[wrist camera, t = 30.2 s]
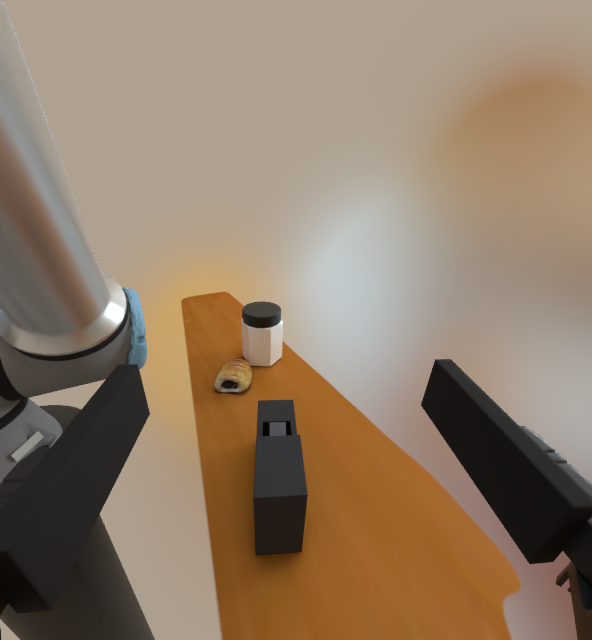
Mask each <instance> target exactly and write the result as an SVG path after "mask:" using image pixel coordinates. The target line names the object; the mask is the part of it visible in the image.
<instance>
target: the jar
mask: <svg viewBox="0 0 592 640" xmlns="http://www.w3.org/2000/svg"><path fill="white" fill-rule="evenodd" d="M241 328H242V350H243V356H244V358H245V359H246V360H248V361H249V363H250V366H269V367H270V366H272V365H273V364H274V363H275V362H276V361H278V360H279V359H280V358H281V357H282V333H283V331H282V330H283V321H282V320H281V308H280V307H279V306H278V305H276V304H274V303H270V302H254V303H250V304H247V305H246V306H244V307H243V309H242V319H241Z"/></svg>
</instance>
